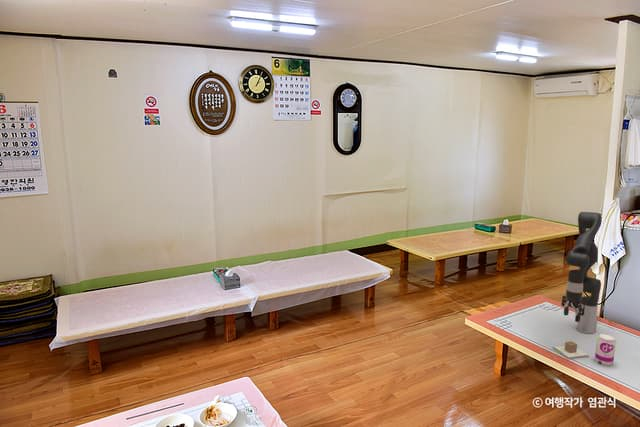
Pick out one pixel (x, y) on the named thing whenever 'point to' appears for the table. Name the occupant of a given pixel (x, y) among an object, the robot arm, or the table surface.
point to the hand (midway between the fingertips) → (571, 318)
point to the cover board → (571, 355)
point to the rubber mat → (569, 358)
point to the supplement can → (605, 349)
